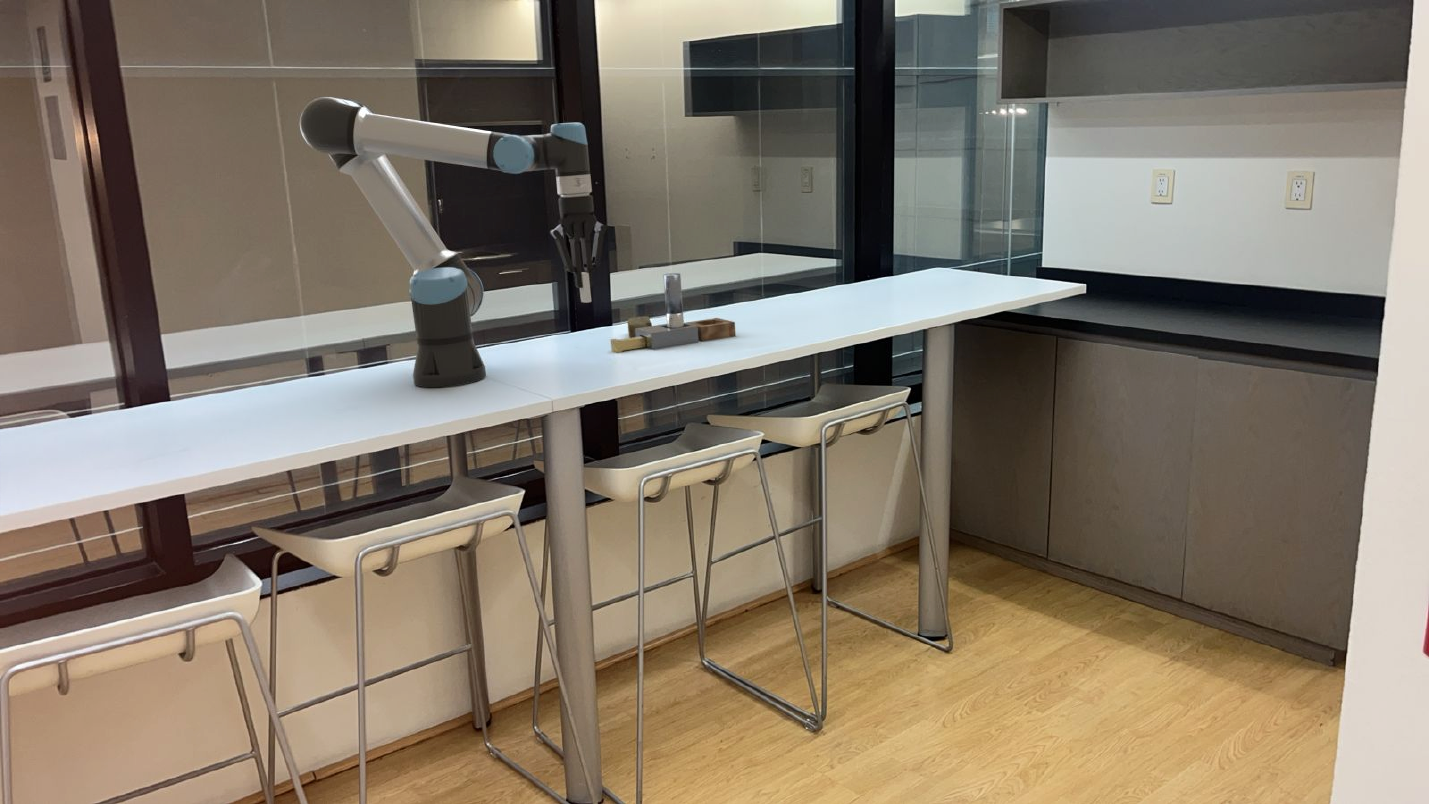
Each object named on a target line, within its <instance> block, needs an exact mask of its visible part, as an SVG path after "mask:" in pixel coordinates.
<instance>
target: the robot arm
mask: <svg viewBox="0 0 1429 804" xmlns="http://www.w3.org/2000/svg"><path fill="white" fill-rule="evenodd" d="M299 128H300V133H301V135H302V137H303V139H304V140H305V143H306V144H307V145H308V146H310V148H312V149H313V150H314V151H316V152H319V153H320V154H324V155H328V156H329V158H330V159H331V161H332V162H333V163H334V165H335V167H336V168H337V170H338V171H339V172H340V173H341V174H345V175H349V176H350V177H352V178H351V179H353V180H354V182H355V184H356V186H357V187H358V188H359V189H360V191H361V193H362V194H363V196H364V197H365V199H366V200H367V202H368V204H369V205H370V206H371V208H372V209H373V212H375V214H376V215H377V217H378V218H379V220H380V221H381V223H382V224H383V226H384V227H385V229H386V230H387V232H388V233H389V235H390V236H391V238H392V239H393V240H394V242H395V243H396V245H397V247H398V248H399V249H400V252H402V254H403V256H404V257H405V259H406V261H407V262H408V263H409V264H410V266H411V267H412V269H413V275H412V276H411V277H410V279H409V296H410V300H411V307H412V314H413V322H414V328H415V335H416V343H417V344H416V345H417V350H416V357H415V361H414V362H415V363H414V367H413V371H412V372H413V373H412V376H413V384H414V385H415V386H417V387H421V388H444V387H445V388H446V387H447V388H448V387H454V386H455V387H456V386H461V385H466V384H471V383H474V382H477V381H481V380H483V379H485V378H486V377H487V374H486V366H485V364H484V363H485V362H483V359H482V357H481V355H480V353H479V350H478V349H477V347H476V344H475V340H474V336H473V335H474V334H473V328H472V327H473V326H472V319H471V317H473V316H474V315H476V313H477V312H478V311H479V310H480V308H481V305H482V303H483V300H484V295H485V292H484V285H483V283H482V282H483V281H482V280H481V279H480V277H479V275H478V274H477V273H476V272H475V271H473V270H472V269H470V267H467V265H466V264H465V262H464V261H463V259H462V257H461V256H460V255H459V253H458V252H457V251H453V250H449V249H448V248H447V247H446V245H445V244H444V243H443V241H442V240H441V237H440V236H439V235H438V233H437V232H436V230H435V229H434V228H433V226H432V224H431V223H430V221H429V219H428V218H427V216H426V215H425V214H424V212H423V211H422V209H421V207H420V206H419V204H418V203H417V201H416V200H415V199H414V197H413V196H412V194H411V192H410V190H409V189H408V188H407V186H406V184H405V183H404V182H403V180H402V178H401V177H400V175H399V174H398V172H397V170H396V169H395V168H394V166H393V165H392V163H391V162H390V160H389V159H388V156H386V155H392V156H398V157H406V158H411V159H419V160H425V161H432V162H439V163H440V162H441V163H445V164H453V165H459V166H460V165H462V166H467V167H473V168H474V167H476V168H482V169H489V170H494V171H501V172H502V173H506V174H513V175H514V174H515V175H518V174H522V173H525V172H533V171H543V170H544V171H545V170H554V171H555V179H556V181H555V182H556V191H557V195H558V196H560V197H558V200H557V201H558V209H559V210H558V211H559V216H560V218H559V221H558V225H557V226H556V227H555V228H554V229H550V231H549V234H550V235H551V236H552V238H553V239H554V241H555V243H556V246H557V248H558V249H557V250H558V253H559V255H560V258H561V261H562V264H563V266H564V270H565V271H567V272H570V273H573V274H574V285H575V287H576V288H577V289H579V295H580V302H581V303H587V304H588V303H591V302H592V293H591V287H593V286H594V278H593V277H594V276H593V273H594V272H595V270H596V269H600V267H601V260H602V259H601V258H602V251H603V245H604V236H605V234H606V231H607V229H608V226H607V225H606V224H602V223H601V222H599V221H598V219H597V217H596V216H595V210H594V198H593V195H591V194H590V193H592V192H593V189H592V188H593V187H592V179H591V169H590V157H589V147H588V145H589V144H588V139H587V134H586V133H587V131H586V127H585V125H584V124H583V123H581V122H563V123H554V124H551V126H550V131H549V133H545V134H531V135H530V134H529V135H520V134H519V135H518V134H513V133H512V134H511V133H503V132H497V131H496V132H495V131H489V130H482V129H475V128H470V127H469V128H468V127H463V126H462V127H461V126H455V125H449V124H443V123H436V122H428V121H423V120H422V121H421V120H416V119H408V118H403V117H395V116H389V115H383V114H382V115H381V114H376V113H372V112H371V111H370V109H368V108H367V107H366V106H365V105H363V104H362V103H360V102H359V101H355V100H353V99H350V98H342V97H341V98H336V97H330V96H329V97H328V96H323V97H319V98H315V99H314V100H312V101H310V102H309V103H308V104H307V105H306V106H304V109H303V110H302V112H301V115H300V118H299ZM593 230H594V231H595V232H594V237H593V245H592V249H591V234H592V232H593ZM564 233H565V234H566V235H567V236H568V242H569V244H570V253H569V250H568V247H567V244H566V240H565V239H564V237H563V236H564ZM580 245H581V247H580ZM570 255H571V256H570ZM581 255H582V257H581ZM582 263H583V264H582ZM582 265H583V267H582ZM583 270H584V271H583Z"/></svg>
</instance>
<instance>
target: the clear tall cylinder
mask: <svg viewBox="0 0 1429 804" xmlns="http://www.w3.org/2000/svg"><path fill="white" fill-rule="evenodd" d="M662 277H663V287H664V289H663V291H664V301H665V302H664V304H665V314H666V315H665V316H666V324H667V328H668V329H674V328H680V327H684V323H685V319H684V318H685V317H684V307H683V305H684V304H683V290H682V277H681V273H679V272H676V273H675V272H673V273H665V274H663V275H662Z"/></svg>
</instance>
